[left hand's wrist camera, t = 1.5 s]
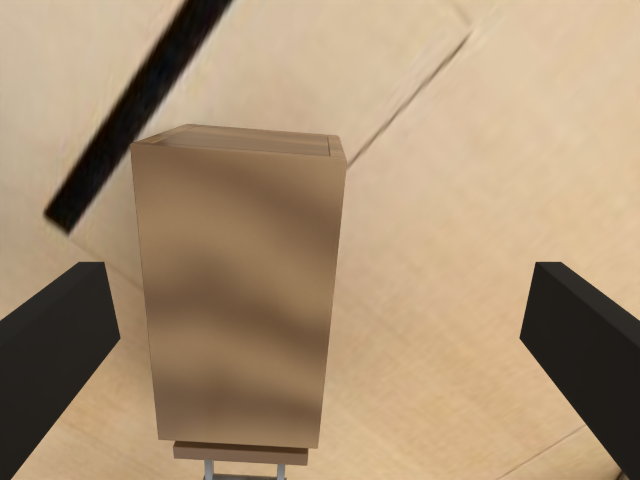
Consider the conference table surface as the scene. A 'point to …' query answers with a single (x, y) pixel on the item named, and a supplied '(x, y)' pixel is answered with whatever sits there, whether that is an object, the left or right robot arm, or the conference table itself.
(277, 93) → the conference table surface
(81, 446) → the conference table surface
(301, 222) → the cabinet
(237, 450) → the drawer
